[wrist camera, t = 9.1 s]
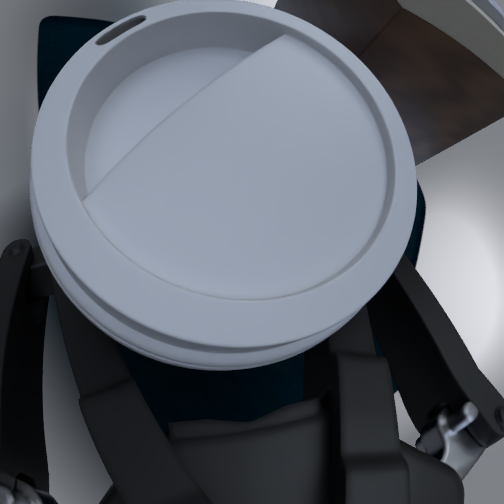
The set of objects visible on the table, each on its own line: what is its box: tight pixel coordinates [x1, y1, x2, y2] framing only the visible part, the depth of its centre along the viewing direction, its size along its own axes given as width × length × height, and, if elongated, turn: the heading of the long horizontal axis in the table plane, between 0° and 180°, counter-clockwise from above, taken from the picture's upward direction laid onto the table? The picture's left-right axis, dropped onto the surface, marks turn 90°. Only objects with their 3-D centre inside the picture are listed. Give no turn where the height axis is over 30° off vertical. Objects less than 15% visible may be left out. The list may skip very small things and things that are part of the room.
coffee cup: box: [29, 0, 417, 370], centre depth 12 cm, size 10×10×15 cm
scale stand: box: [274, 0, 504, 166], centre depth 23 cm, size 14×14×28 cm
